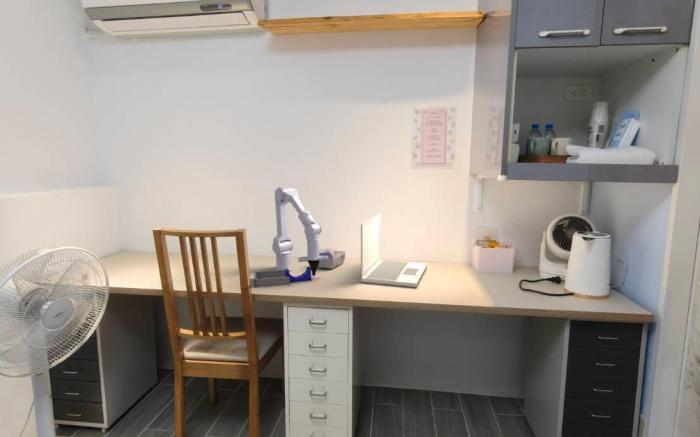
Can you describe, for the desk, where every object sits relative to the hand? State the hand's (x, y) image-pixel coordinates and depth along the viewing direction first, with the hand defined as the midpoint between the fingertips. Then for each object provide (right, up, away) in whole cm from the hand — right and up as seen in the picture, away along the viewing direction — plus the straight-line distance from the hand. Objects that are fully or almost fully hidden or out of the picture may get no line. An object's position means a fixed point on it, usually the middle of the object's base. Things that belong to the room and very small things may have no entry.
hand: (313, 275), depth 194 cm
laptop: (+40, -1, +5) cm, 41 cm away
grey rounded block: (+7, +2, +24) cm, 25 cm away
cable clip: (-7, -2, -3) cm, 8 cm away
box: (-20, -2, -4) cm, 20 cm away
